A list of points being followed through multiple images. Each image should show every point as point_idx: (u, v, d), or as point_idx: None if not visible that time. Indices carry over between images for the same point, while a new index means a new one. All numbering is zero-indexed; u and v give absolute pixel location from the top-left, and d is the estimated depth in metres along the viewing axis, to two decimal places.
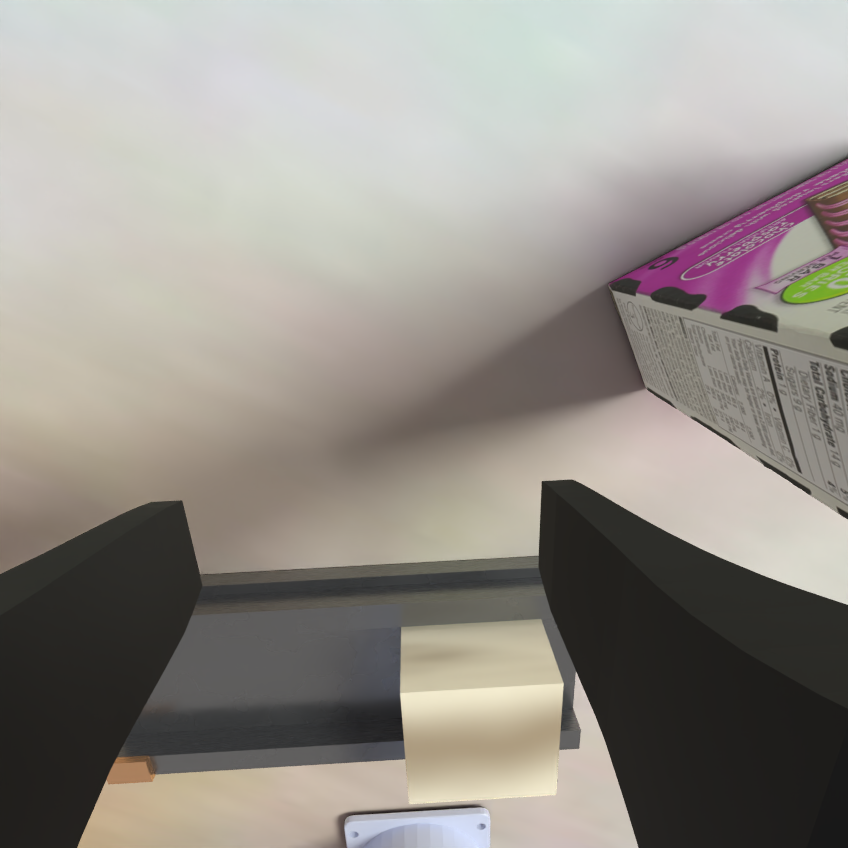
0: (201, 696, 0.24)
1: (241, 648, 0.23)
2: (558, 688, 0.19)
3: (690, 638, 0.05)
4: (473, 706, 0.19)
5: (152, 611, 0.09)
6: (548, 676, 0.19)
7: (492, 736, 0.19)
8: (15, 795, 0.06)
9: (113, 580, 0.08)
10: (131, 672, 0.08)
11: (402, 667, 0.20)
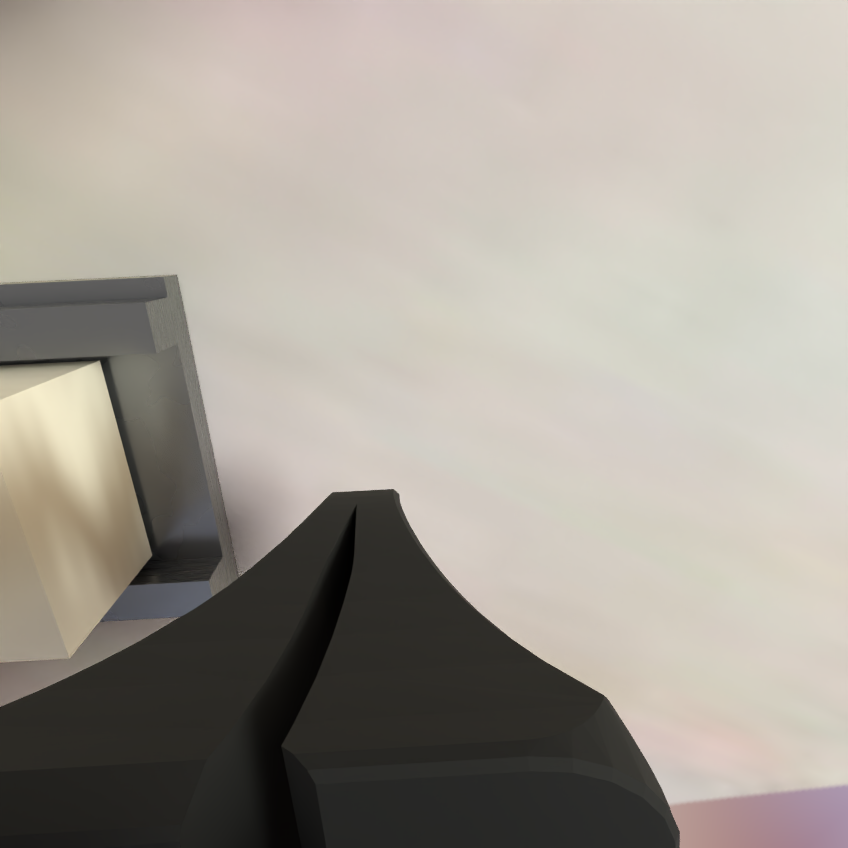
0: None
1: None
2: None
3: None
4: None
5: None
6: None
7: None
8: None
9: (343, 567, 0.08)
10: None
11: None
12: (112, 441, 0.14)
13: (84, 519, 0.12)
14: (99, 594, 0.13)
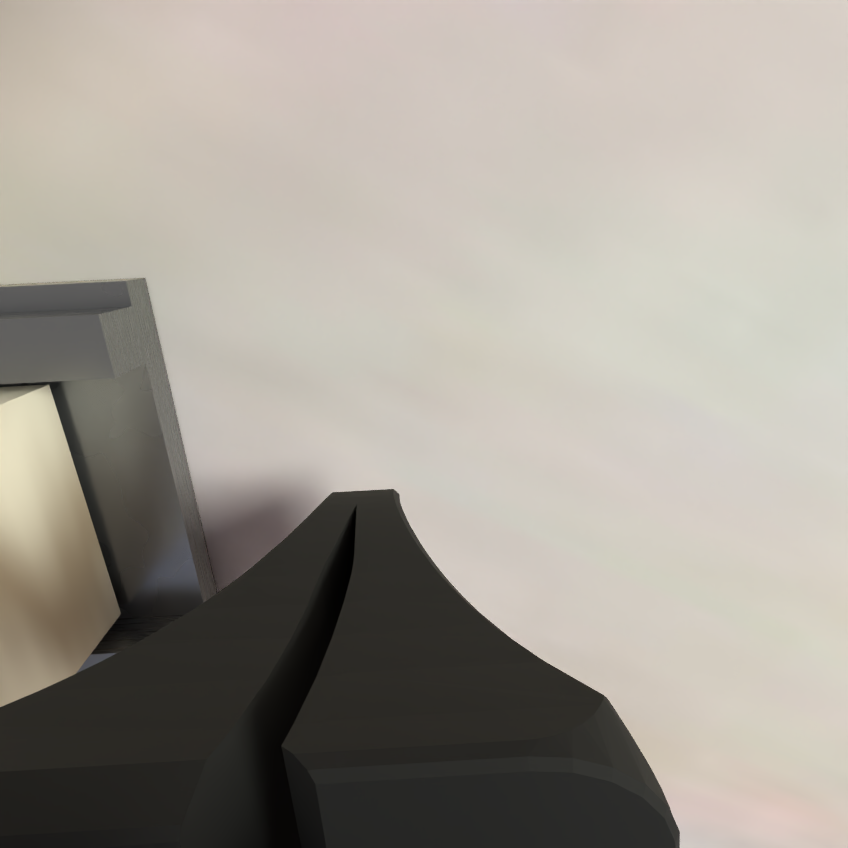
0: None
1: None
2: None
3: None
4: None
5: None
6: None
7: None
8: None
9: (343, 567, 0.08)
10: None
11: None
12: (66, 483, 0.11)
13: (25, 588, 0.10)
14: (46, 678, 0.10)
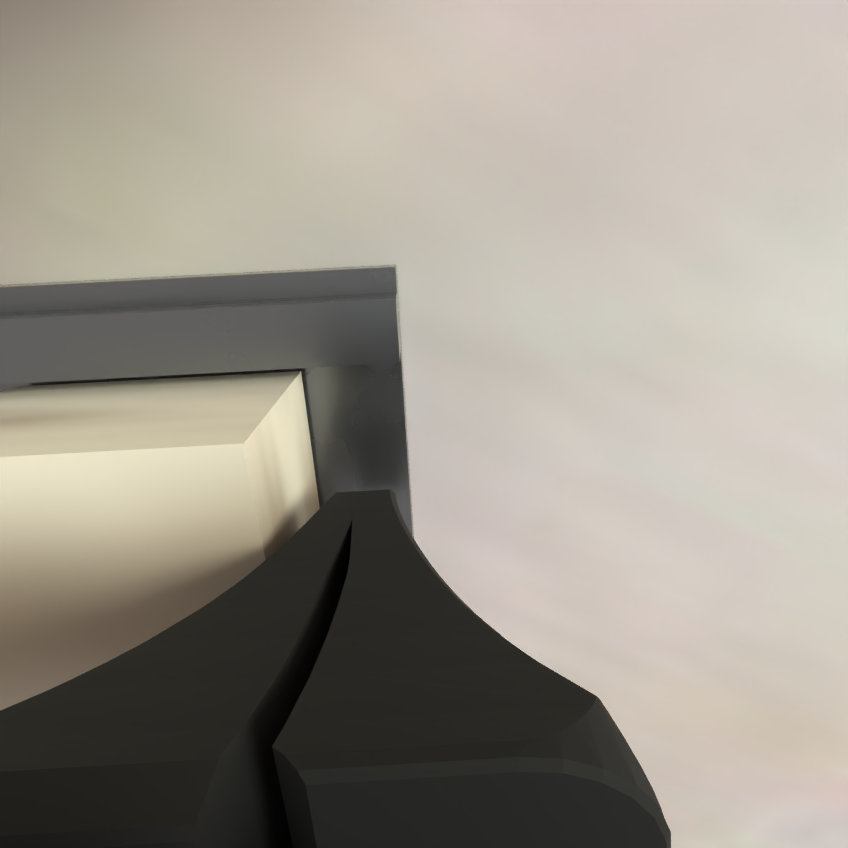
0: None
1: None
2: (232, 458, 0.07)
3: None
4: (21, 515, 0.07)
5: None
6: (218, 435, 0.07)
7: (103, 601, 0.08)
8: None
9: (347, 567, 0.08)
10: None
11: None
12: (310, 469, 0.11)
13: None
14: None
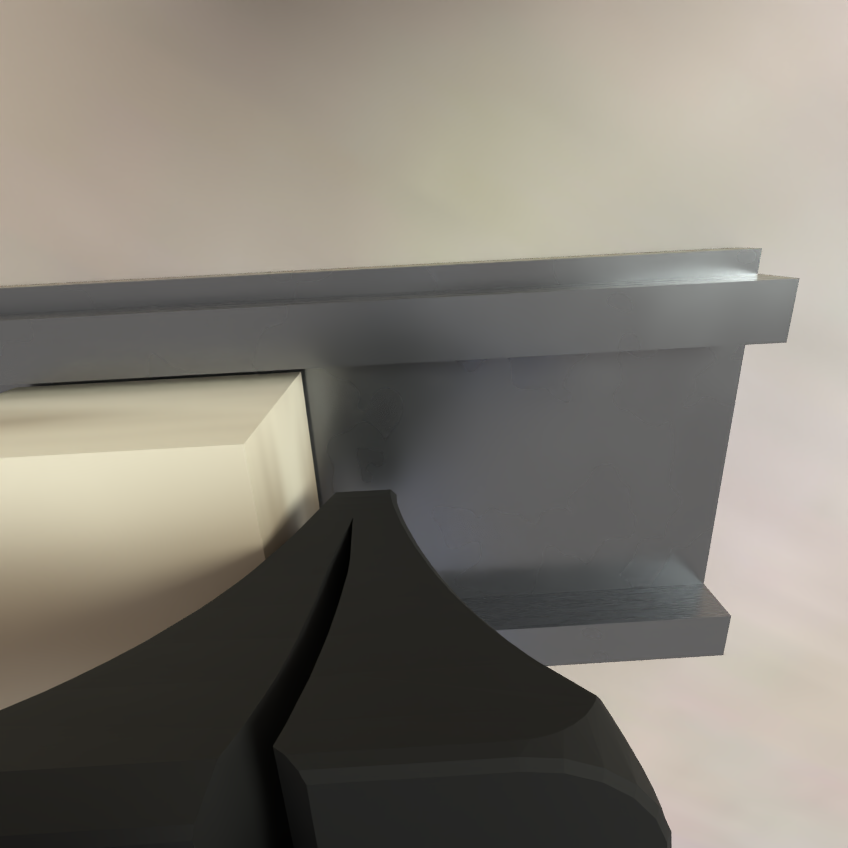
0: None
1: None
2: (232, 459, 0.07)
3: None
4: (21, 515, 0.07)
5: None
6: (218, 436, 0.07)
7: (103, 602, 0.08)
8: None
9: (347, 567, 0.08)
10: None
11: None
12: (310, 470, 0.11)
13: None
14: None
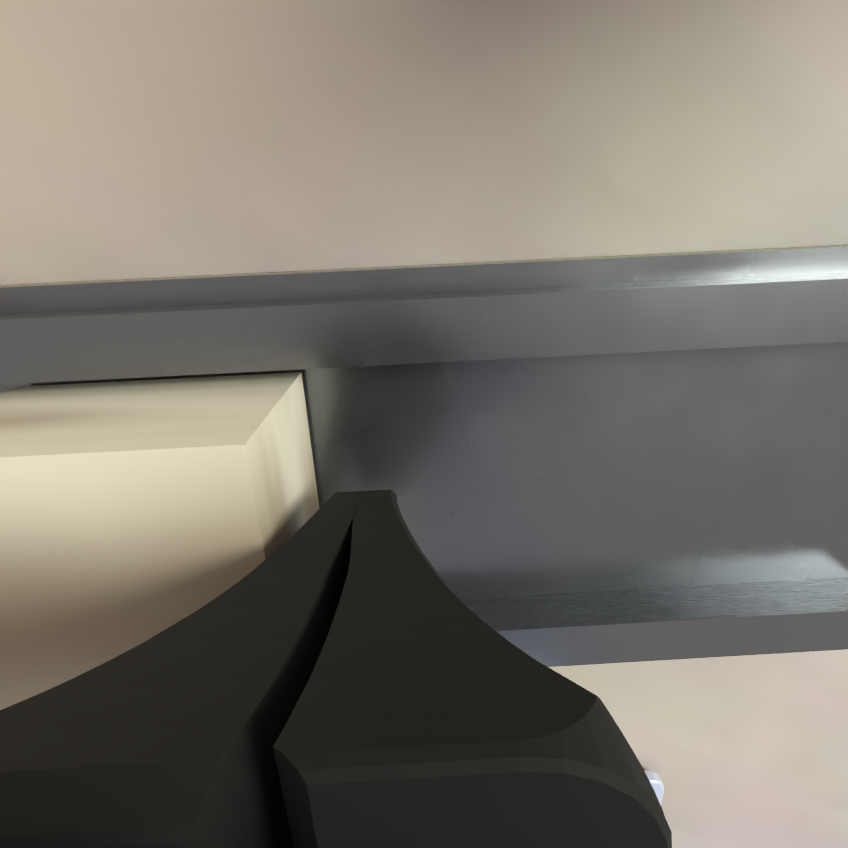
0: None
1: None
2: (232, 459, 0.07)
3: None
4: (22, 515, 0.07)
5: None
6: (218, 436, 0.07)
7: (103, 601, 0.08)
8: None
9: (347, 567, 0.08)
10: None
11: None
12: (310, 470, 0.11)
13: None
14: None
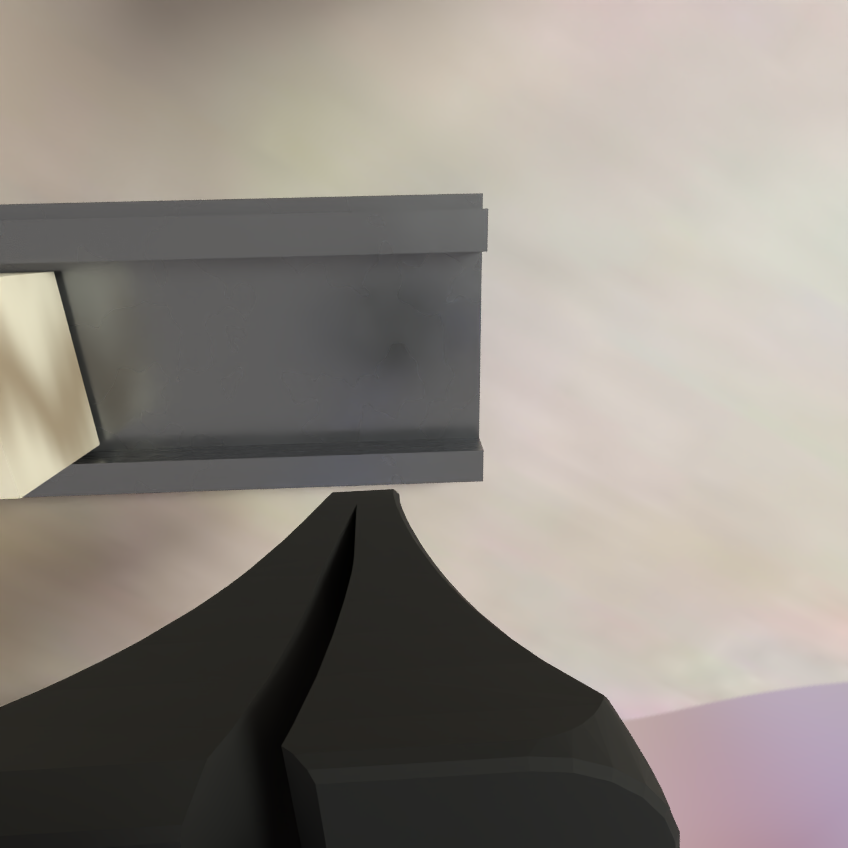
0: None
1: None
2: None
3: None
4: None
5: None
6: None
7: None
8: None
9: (343, 567, 0.08)
10: None
11: None
12: (63, 340, 0.17)
13: (36, 394, 0.15)
14: (48, 458, 0.16)
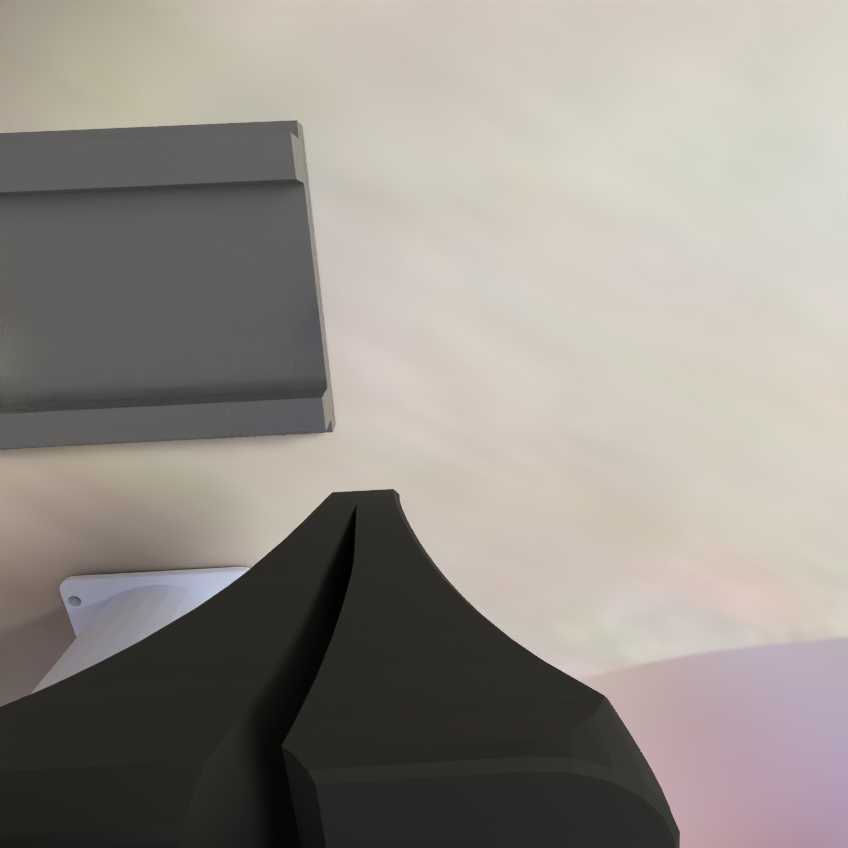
0: None
1: None
2: None
3: None
4: None
5: None
6: None
7: None
8: None
9: (343, 567, 0.08)
10: None
11: None
12: None
13: None
14: None
